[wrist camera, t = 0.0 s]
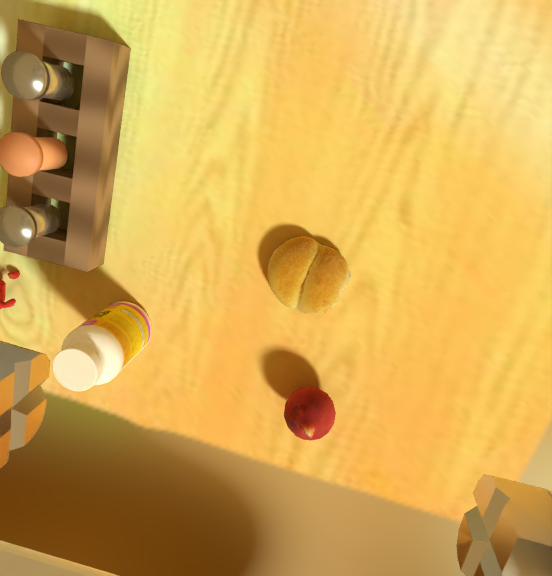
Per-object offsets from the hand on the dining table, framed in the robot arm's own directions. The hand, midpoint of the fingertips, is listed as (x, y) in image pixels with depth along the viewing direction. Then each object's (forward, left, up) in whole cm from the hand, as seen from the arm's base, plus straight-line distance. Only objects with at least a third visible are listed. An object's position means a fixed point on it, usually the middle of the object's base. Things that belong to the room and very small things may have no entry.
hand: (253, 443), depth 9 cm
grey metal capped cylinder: (-5, -29, -44) cm, 53 cm away
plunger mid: (+2, -29, -44) cm, 53 cm away
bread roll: (+9, 0, -48) cm, 49 cm away
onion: (+24, +4, -48) cm, 54 cm away
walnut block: (+2, -29, -48) cm, 56 cm away
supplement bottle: (+21, -20, -48) cm, 56 cm away
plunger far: (+9, -29, -44) cm, 54 cm away
